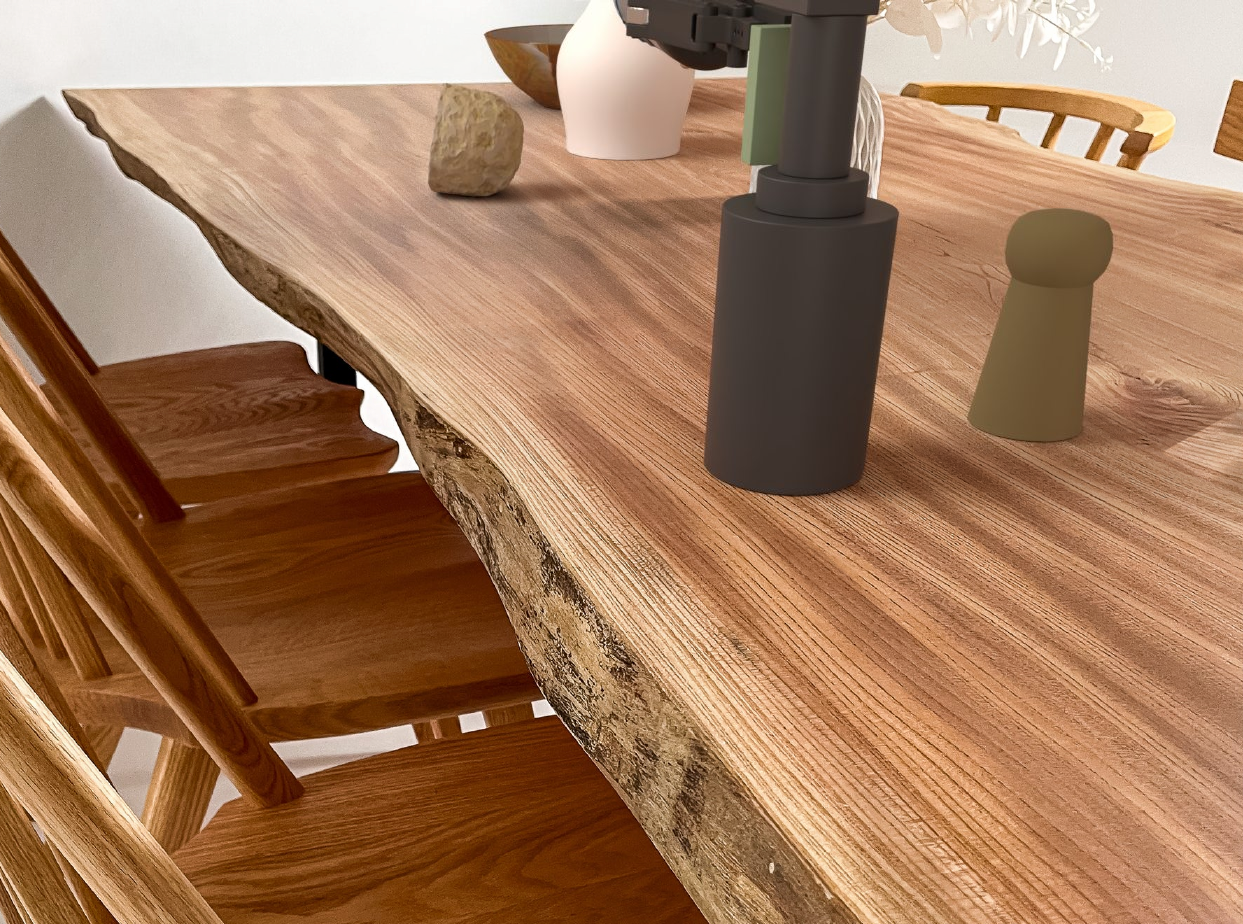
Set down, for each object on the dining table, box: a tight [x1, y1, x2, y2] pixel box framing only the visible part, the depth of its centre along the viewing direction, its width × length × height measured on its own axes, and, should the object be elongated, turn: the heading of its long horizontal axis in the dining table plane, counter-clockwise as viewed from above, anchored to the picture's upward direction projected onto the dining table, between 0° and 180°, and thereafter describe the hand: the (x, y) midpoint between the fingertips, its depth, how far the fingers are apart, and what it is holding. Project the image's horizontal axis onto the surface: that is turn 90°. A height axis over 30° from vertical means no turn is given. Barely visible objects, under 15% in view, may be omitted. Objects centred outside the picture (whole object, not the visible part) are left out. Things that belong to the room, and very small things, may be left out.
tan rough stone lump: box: [427, 82, 525, 197], centre depth 126 cm, size 10×10×10 cm
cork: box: [967, 207, 1114, 442], centre depth 73 cm, size 6×6×11 cm
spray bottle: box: [703, 0, 900, 496], centre depth 65 cm, size 10×8×24 cm
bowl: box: [483, 23, 575, 110], centre depth 174 cm, size 25×25×8 cm
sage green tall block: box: [740, 24, 791, 167], centre depth 67 cm, size 1×3×6 cm, turn 100°
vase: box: [557, 0, 696, 161], centre depth 143 cm, size 14×14×20 cm
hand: (795, 44), depth 75 cm, fingers closed
